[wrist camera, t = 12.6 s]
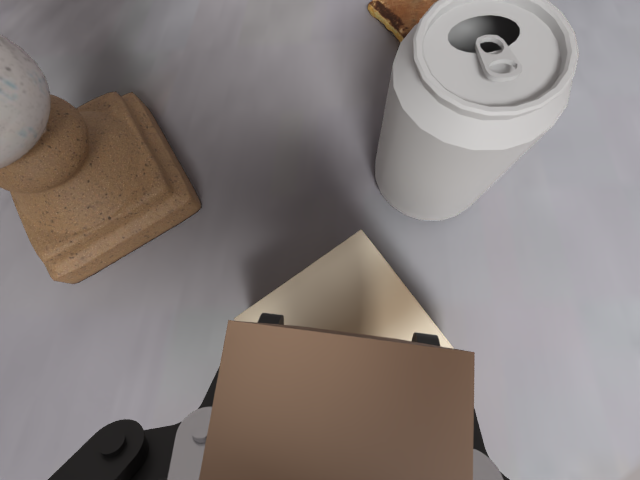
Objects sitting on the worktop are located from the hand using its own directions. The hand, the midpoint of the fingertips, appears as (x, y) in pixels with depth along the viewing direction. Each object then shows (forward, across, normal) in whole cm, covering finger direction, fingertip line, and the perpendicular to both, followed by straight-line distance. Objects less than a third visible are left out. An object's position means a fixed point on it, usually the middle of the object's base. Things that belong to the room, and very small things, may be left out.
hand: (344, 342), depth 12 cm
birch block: (+8, 0, +8) cm, 11 cm away
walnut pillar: (+2, 0, +4) cm, 5 cm away
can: (+16, -5, -1) cm, 17 cm away
